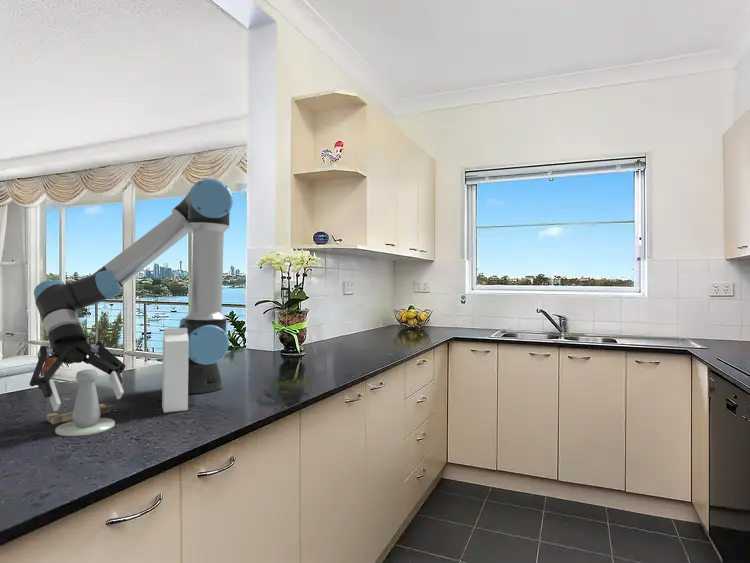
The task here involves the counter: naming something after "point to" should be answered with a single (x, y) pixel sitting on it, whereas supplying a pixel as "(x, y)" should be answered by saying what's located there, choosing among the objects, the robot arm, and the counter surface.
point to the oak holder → (68, 416)
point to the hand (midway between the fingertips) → (90, 401)
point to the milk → (175, 370)
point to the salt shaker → (86, 400)
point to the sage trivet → (72, 430)
